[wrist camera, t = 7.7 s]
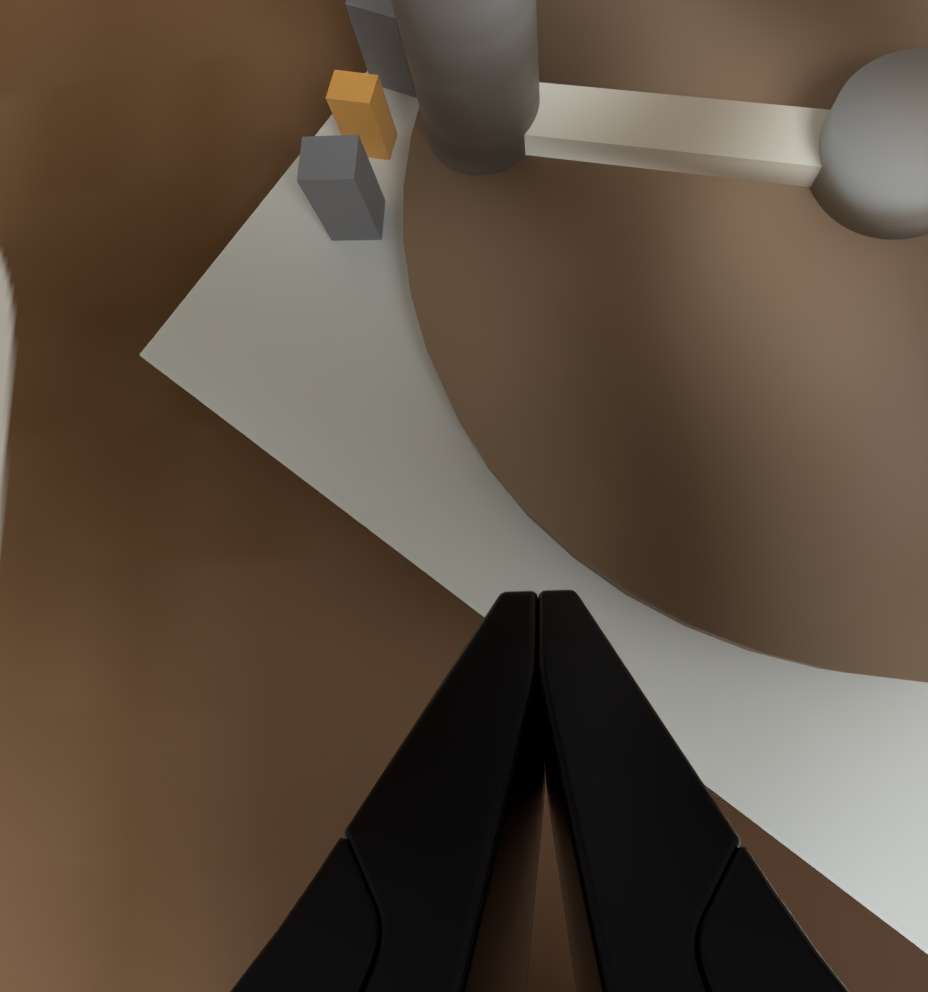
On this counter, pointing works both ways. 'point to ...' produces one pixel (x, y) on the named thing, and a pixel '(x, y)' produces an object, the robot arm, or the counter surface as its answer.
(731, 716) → the base
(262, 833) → the counter surface
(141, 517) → the counter surface
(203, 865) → the counter surface
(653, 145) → the dial
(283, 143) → the counter surface
